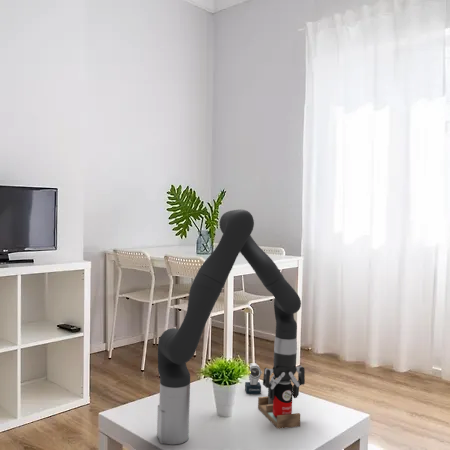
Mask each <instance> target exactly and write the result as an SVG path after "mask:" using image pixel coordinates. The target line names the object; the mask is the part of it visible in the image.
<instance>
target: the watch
mask: <svg viewBox="0 0 450 450" xmlns="http://www.w3.org/2000/svg"><path fill="white" fill-rule="evenodd" d="M249 367H250V371H251V374H250V376H249V375H248V378H249V379H248V380H249V381H245V383H244V391H245V393H246V395H262V385H261V383H260V378H261V375H262V374H263V371H262V369H261V368H260V366H259V365H258V364H257V363H256V362H253V363H252V362H251V363H249Z"/></svg>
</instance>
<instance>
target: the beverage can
mask: <svg viewBox="0 0 450 450" xmlns="http://www.w3.org/2000/svg"><path fill="white" fill-rule="evenodd" d="M273 414H274V415H275V417H277V415H285V414H293V383H292V381H291V380H290V381H282V382H281V381H280V382H279V383H278V384H276V386H275V387H274V400H273Z"/></svg>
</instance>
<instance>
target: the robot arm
mask: <svg viewBox="0 0 450 450" xmlns="http://www.w3.org/2000/svg"><path fill="white" fill-rule="evenodd" d="M219 219H220V220H219V229H220V231H221V233H222V235H221V238H220V240H219V241H218V244H217V245H216V247H215V248H214V250H213V251H212V252H211V253H210V255H208V257H207V258H206V260H204V261H203V263H202V265H201V266H200V268H199V269H198V271H197V272H196V275H195V277H194V279H193V281H192V283H191V285H190V288H189V293H188V300H187V308H186V313H185V316H184V319H183V320H182V323H181V324H180V326H179V328H175V327H171V328H169V329H166V330H165V331H163V332H162V334H161V335H160V336H159V339H158V344H157V371H158V375H159V403H158V405H157V419H156V423H157V426H156V437H157V439H158V442H159V443H160V444H166V445H179V444H180V445H181V444H184V443H185V442H187V441H188V440H189V436H190V435H189V434H190V406H191V405H190V403H191V400H190V398H191V373H190V371H189V369H188V367H187V363H188V362H189V361H190V360H191V359H192V358H193V357H194V355H195V352H196V351H197V348H198V346H199V343H200V340H201V337H202V334H203V331H204V329H205V326H206V324H207V322H208V319H209V317H210V315H211V313H212V311H213V309H214V307H215V305H216V302H217V301H218V298H219V297H220V295H221V294H222V290H223V288H224V287H225V285H226V282H227V280H228V277H229V276H230V273H231V271H232V269H233V267H234V264H235V262H236V260H237V258H238V256H239V254H241V256H243V257H244V259H245V260H246V261H247V263H248V265H249V266H250V267H251V268H252V270H253V272H254V273H255V274H256V276H257V277H258V279H259V280H260V282H261V283H262V285H263V286H264V287H265V289H266V290H267V291H268V292H269V293H271V294H272V296H273V297H274V299H273V310H274V316H275V336H274V343H273V344H274V345H273V365H272V366H273V367H272V368H268V367H264V368H263V369H264V370H263V378H262V385H263V386H264V387H265V388H266V389H267V396H268V397H269V398H270V399H271V400H274V387H275V386H276V384H278V383H279V382H280V381H281V382H282V381H291V383H292V386H293V395H292V398H294V399H297V398H298V397H299V394H300V386H302V385H303V386H304V385H305V384H306V383H305V379H306V377H305V374H306V372H305V371H306V370H305V367H304V366H302V365H300V364H299V365H298V366H296V365H297V354H298V353H297V351H298V341H297V335H298V325H297V321H296V320H295V317H294V314H296V313H298V312H299V310H300V309H301V307H302V301H301V298H300V296H299V294H298V293H297V292H296V290H295V289H294V288H293V287H292V286H291V284H290V283H289V282H288V281H287V280H286V278H285V277H284V275H283V274H282V272H281V270H280V269H279V267H278V266H277V264H276V263H275V262H274V260H273V259H272V258H271V257H270V256H269V255H268V254H267V253H266V252H265V251H264V250H263V249H262V248H261V247H260V246H259V245H258V244H257V242H256V241H255V240H254V239H253V237H252V235H251V234H252V232H253V230H254V227H255V220H254V217H253V215H252V213H251V212H250V211H248V210H245V209H242V208H241V209H233V210H228V211H226V212H224V213H223V214H222V215H221V216H220V218H219ZM296 373H297V374H298V375H297V378H296V377H295V374H296ZM272 374H273V375H272ZM271 376H272V377H271Z"/></svg>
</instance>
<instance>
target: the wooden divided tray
mask: <svg viewBox="0 0 450 450" xmlns="http://www.w3.org/2000/svg"><path fill="white" fill-rule="evenodd" d="M257 399H258V400H257V409H258V410H259V411H260V412H261V413H262V414H263V415H264V416H265V417H266V418H267V419H268V421H270V423H271V424H272V425H273V426H275V428H277V429H285V428H286V429H288V428H297V427H301V413H299V412H297V413H292V414H285V415H277V417H275V415H274V414H273V400H271V399H270V398H269V397H268V395H267V396H258V398H257Z"/></svg>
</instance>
